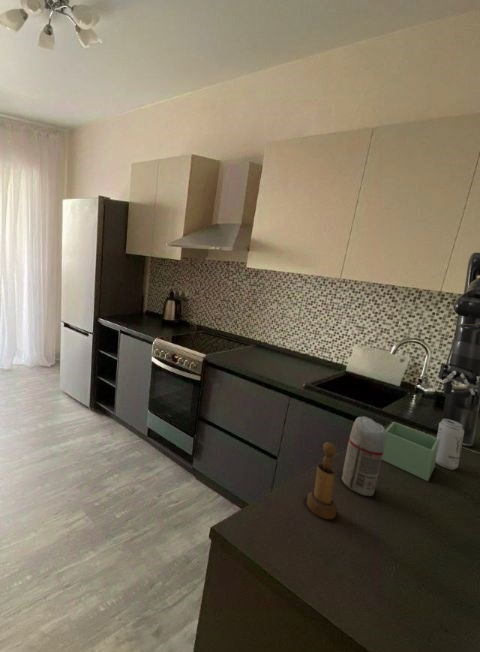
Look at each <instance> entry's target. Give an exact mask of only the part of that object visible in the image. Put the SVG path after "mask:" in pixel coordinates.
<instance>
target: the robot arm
mask: <svg viewBox="0 0 480 652" xmlns="http://www.w3.org/2000/svg"><path fill="white" fill-rule="evenodd" d="M452 307H453V308H452V310H453V311H454V313H455V314H456V315H457V318H456V322H455V323H456V324H455V329H454V335H453V339H452V343H451V346H450V349H449V352H448V355H447V359H446V362H445V363H441V365H440V369H439V373H438V380H441V381H442V382H443V386H442V391H443V394H445V399H444V404H443V405H444V406H443V411H442V417H441V420H442V419H449V420H453V421H456V422H458V423H460V424H461V425H462V428H463V430H464V436H463V441H462V446H463V447H468V448H472V447H473V446H474V439H475V433H476V429H477V423H478V417H479V413H480V412H479V411H480V252H473V253H472V254H471V255H470V256H469V259H468V262H467V268H466V275H465V281H464V289H463V293H462V294H461V295H459V297H457V298H456V299H455V301H454V302H453V306H452ZM455 382H459V383H461V384H463V386H461V385H460V386H459V385H453V383H455Z"/></svg>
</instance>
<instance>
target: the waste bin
mask: <svg viewBox="0 0 480 652" xmlns="http://www.w3.org/2000/svg"><path fill="white" fill-rule="evenodd" d="M385 431H386V440H385V446H384V452H383V456H382V460H381V461H383V462H385V463H388V464H390V465H392V466H394V467H396V468H399V469H401V470H403V471H405V472H407V473H409V474H412V475H413V476H416V477H418V478H420V479H422V480H424V481H426V482H429V480H430V478H431V476H432V474H433V471H434V469H435V467H436V456H437V451H438V445H439V439H437V437H434V436H431V435H429V434H426V433H423V432H421V431H419V430H416V429H413V428H411V427H408V426H405V425H403V424H400V423H398V422H395V421H392V422H391V423H390V424H389V426H388V427H387V428H385Z"/></svg>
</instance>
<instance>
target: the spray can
mask: <svg viewBox="0 0 480 652" xmlns="http://www.w3.org/2000/svg"><path fill="white" fill-rule="evenodd" d="M385 430H386V428H385V426H383V425H382V424H381V423H378V422H376V421H375V420H374V419H372V418H370V417H367V416H358V417H356V418H355V420H354V422H353V424H352V427H351V432H350V435H349V438H348V443H347V447H346V451H345V452H346V453H345V459H344V462H343V463H344V464H343V468H342V475H341V479H340V480H341V481H342V482H343V484H344V485H345V486H346V487H347V488H348V489H349V490H351V491H352V492H355V493H356V494H359V495H361V496H367V497H373V496H374V495H375V490H376V486H377V483H378V477H379V474H380V468H381V466H382V461H383V460H382V456H383V452H384V446H385V440H386V431H385Z"/></svg>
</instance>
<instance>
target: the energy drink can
mask: <svg viewBox="0 0 480 652" xmlns="http://www.w3.org/2000/svg"><path fill="white" fill-rule="evenodd" d="M463 436H464V430H463V428H462V425H461V424H460V423H458V422H456V421H453V420H449V419H442V418H441V421H440V422H439V423H438V430H437V434H436V438H437V439H439V445H438V451H437V456H436V462H435V464H437V465H439V466H441V467H442V468H445V469H448V470H456V469H457V468H459V463H460V459H461V458H460V457H461V454H462V453H461V452H462V441H463Z"/></svg>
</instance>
